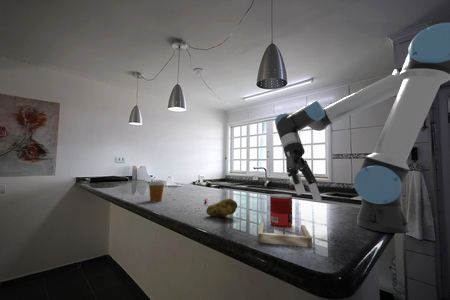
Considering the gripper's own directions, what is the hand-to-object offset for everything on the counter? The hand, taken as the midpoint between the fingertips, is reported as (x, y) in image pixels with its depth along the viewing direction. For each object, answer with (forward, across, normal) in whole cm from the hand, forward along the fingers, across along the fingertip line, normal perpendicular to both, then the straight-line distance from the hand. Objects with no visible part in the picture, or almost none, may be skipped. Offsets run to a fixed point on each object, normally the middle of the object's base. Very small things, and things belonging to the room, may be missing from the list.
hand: (310, 197), depth 72 cm
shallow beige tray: (+11, +10, -9) cm, 17 cm away
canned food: (+6, -1, -14) cm, 16 cm away
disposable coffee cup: (-24, +10, -87) cm, 91 cm away
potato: (-2, +7, -36) cm, 37 cm away
